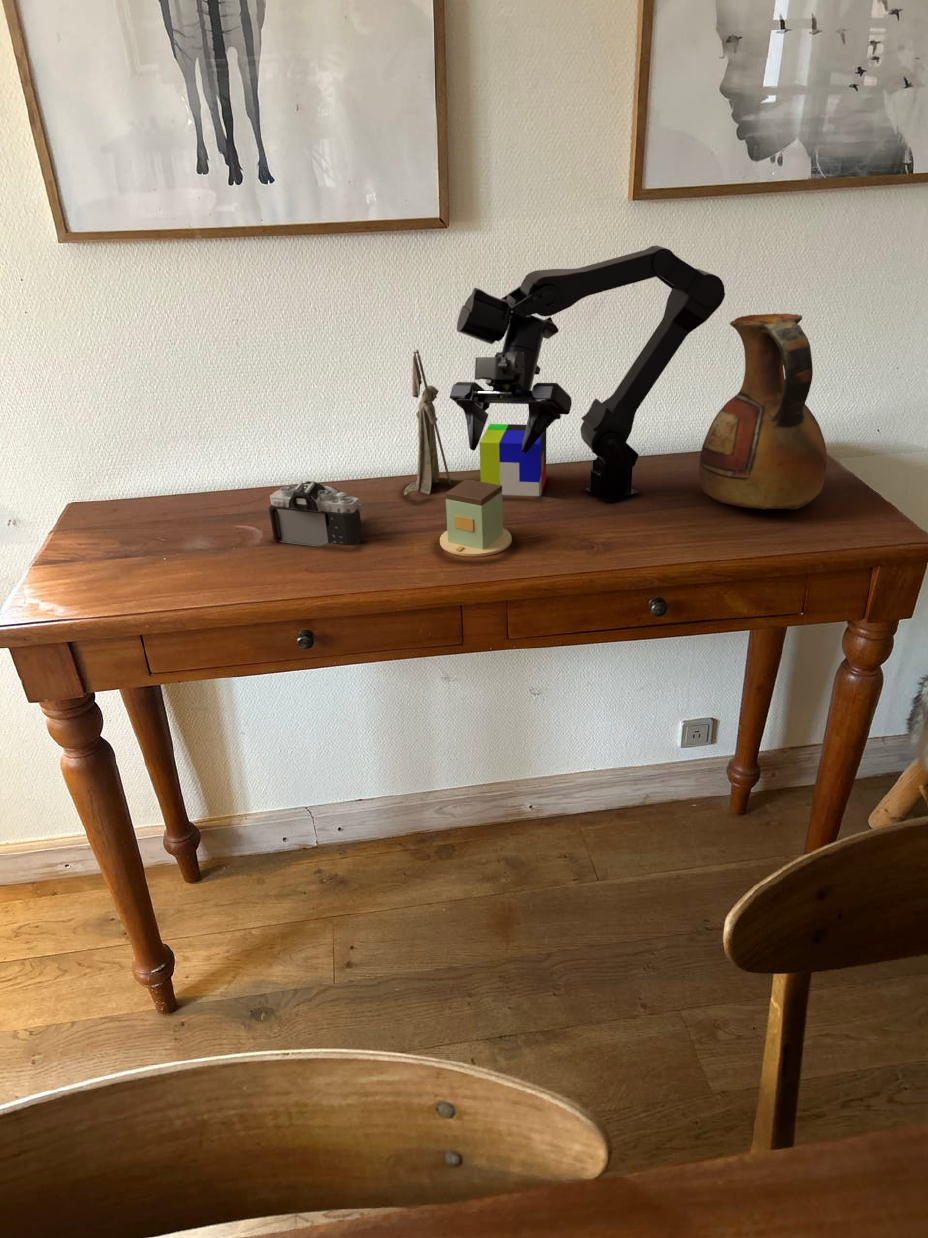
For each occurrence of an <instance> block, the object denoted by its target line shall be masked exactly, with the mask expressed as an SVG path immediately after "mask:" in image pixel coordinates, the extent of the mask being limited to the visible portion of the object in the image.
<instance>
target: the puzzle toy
mask: <svg viewBox="0 0 928 1238" xmlns="http://www.w3.org/2000/svg"><path fill="white" fill-rule="evenodd" d="M526 425H527V424H518V423H517V424H515V423H512V424H511V423H489V425H488V426H487V428H486V430H485V432H484V434H483V435H482V436H481V438H480V440H479V443H478V445H479V471H480V475H479V477H480V482H485V483H491V484H496V485H502V496H522V497H524V496H525V497H526V496H527V497H541V496H542V493H543V490H544V488H545V487H544V486H545V484H546V482H547V481H546V480H547V429H546V430H545V431H544V432H543V433H542V434H541V435H540V437H539V438H538V439H537V440H536V442H535V443H534V444H533V446H532V447H531V448H530V449H529V451H528V452H527V453H523V452H521V447H522V441H523V437H524V433H525V429H526Z"/></svg>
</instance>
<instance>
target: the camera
mask: <svg viewBox="0 0 928 1238" xmlns="http://www.w3.org/2000/svg"><path fill="white" fill-rule="evenodd" d="M269 499H270V506H269V507H268V512H269V518H270V519H269V520H270V524H271V530H272V539H273V541H276V542H279V543H286V544H292V545H293V544H294V545H302V546H309V547H318V548H321V547H322V546H324V545H326V544H333V545H340V546H357V545H358V544H359V543H360V542H361V541H362V540H363V539H364V538H363V529H362V519H361V512H362V511H361V509H362V507H363V504H362V503H360V502H359V498H357V497H356V496H349V495H347V493H346V492H343V491H340V490H339V489H337V488H335V487H334V486H332V485H323V484H322V483H319V482H316V481H313V480H306V481H305V482H304V481H303V480H302V481H300V482H299V483H298V484H297V485H296V486H294V485H284V486H281V487H280V488H279V489H278V490H276V491H274V492H273V493H272V494H270V495H269Z"/></svg>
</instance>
